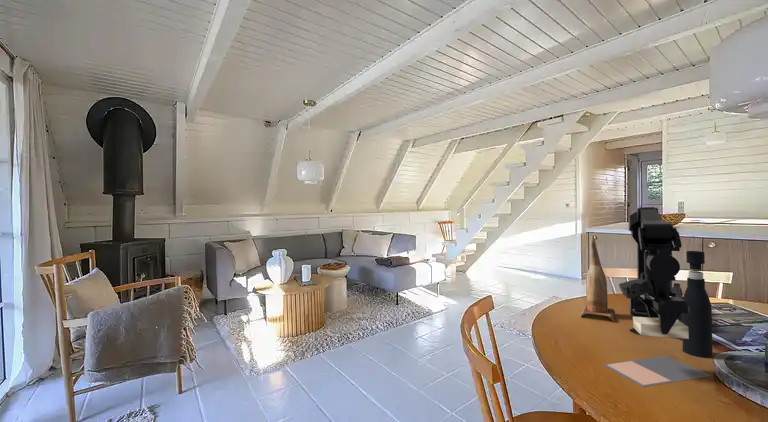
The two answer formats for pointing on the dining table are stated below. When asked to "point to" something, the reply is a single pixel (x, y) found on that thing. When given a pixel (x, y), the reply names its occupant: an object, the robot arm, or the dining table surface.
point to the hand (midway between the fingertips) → (659, 329)
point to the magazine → (678, 295)
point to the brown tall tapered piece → (597, 287)
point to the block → (653, 328)
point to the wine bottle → (697, 310)
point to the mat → (655, 371)
